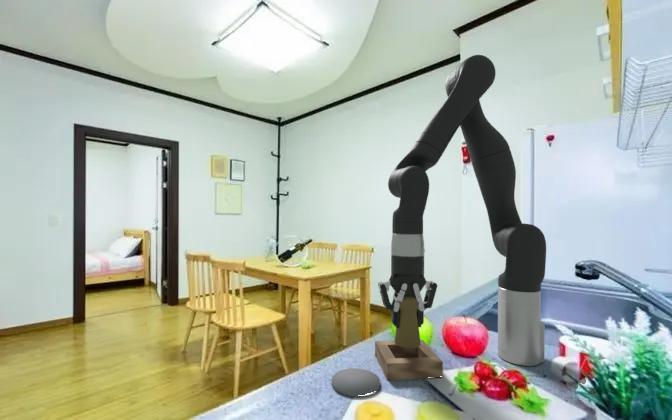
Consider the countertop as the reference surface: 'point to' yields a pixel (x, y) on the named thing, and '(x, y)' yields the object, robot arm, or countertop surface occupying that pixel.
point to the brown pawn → (408, 324)
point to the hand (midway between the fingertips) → (407, 326)
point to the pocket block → (407, 361)
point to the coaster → (355, 382)
